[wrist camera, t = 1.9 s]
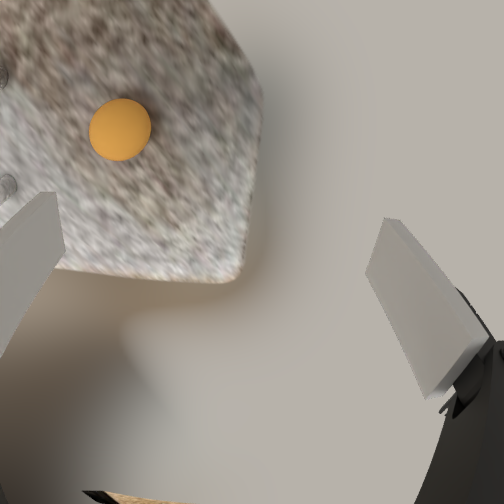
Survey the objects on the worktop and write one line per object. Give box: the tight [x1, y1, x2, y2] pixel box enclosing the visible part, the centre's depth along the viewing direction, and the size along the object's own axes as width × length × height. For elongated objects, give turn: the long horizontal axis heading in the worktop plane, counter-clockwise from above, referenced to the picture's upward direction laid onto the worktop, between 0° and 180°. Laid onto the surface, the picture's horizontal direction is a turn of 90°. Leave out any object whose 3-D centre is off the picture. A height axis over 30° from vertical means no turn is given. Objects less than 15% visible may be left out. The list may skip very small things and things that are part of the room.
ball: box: [89, 99, 151, 161], centre depth 24 cm, size 6×6×6 cm
